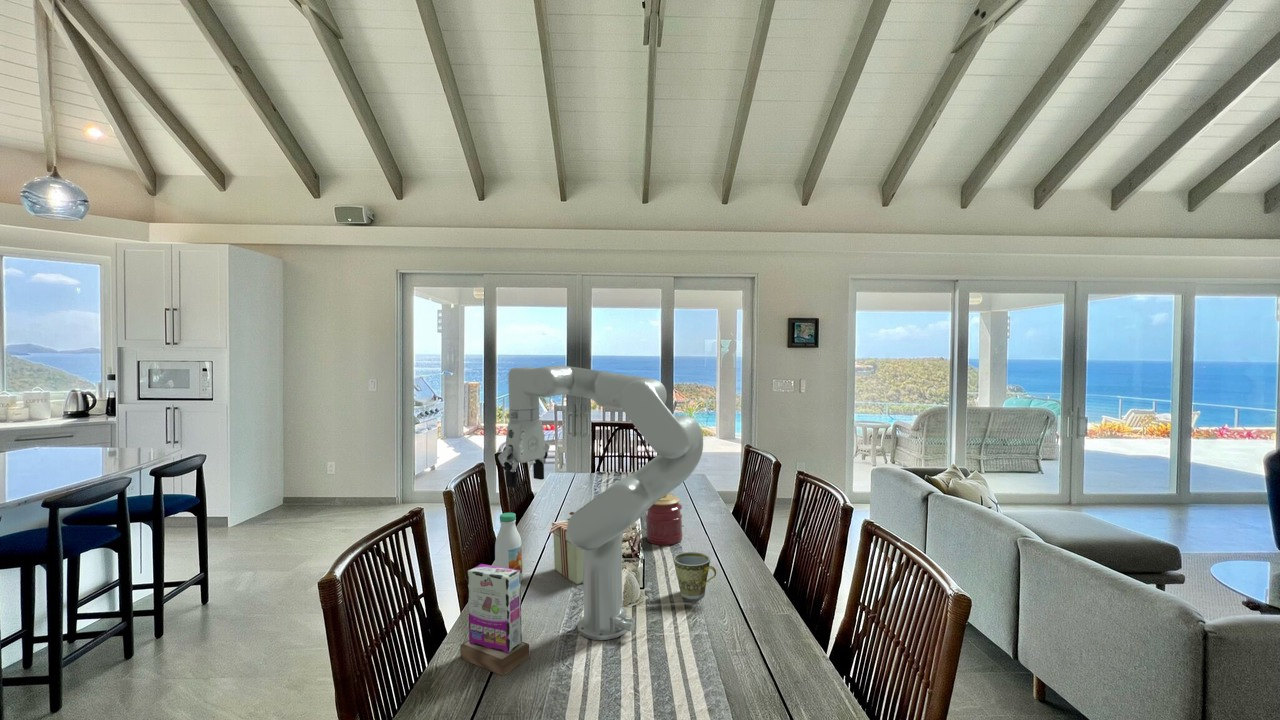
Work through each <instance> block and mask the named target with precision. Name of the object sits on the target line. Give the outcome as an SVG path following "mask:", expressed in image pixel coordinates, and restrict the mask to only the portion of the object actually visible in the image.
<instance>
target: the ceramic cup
mask: <svg viewBox="0 0 1280 720" xmlns="http://www.w3.org/2000/svg"><path fill="white" fill-rule="evenodd" d="M673 564H674V569H675V573H676V575H677V581H678V585H679V590H680V591H679V592H680V595H681V598H684V599H686V600H687V599H688V600H700V599H701V598H704V597H705V595H706V587H707V583H709V582H710V581H711V580H713V579H714V578H715V577H716V575H717V571H716V568H715V567H714V566H713V565H710V564H711V558H710V556H709V555H707V554H705V553H702V552H697V551H686V552H685V551H684V552H680V553H678V554H676V555H674V557H673ZM709 570H712V571H713V573H714V574H713V576H711V577H709V578H708V575H709Z"/></svg>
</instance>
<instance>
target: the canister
mask: <svg viewBox="0 0 1280 720" xmlns="http://www.w3.org/2000/svg"><path fill="white" fill-rule="evenodd" d="M680 500H681V499H680V498H678V497H677V496H675V495H674V494H670V493H668V494H667V495H666V496H664V497H663V498H661V499H660V500H658V501H657V502H656V503H655V504H653V505H652V506H651V507H650V508H649V509H648V510H647V511H646V515H645V519H646V521H645V522H646V523H645V524H646V525H645V526H646V527H645V528H646V529H645V530H646V531H645V536H646V540H647V542H648V543H650V544H653V545H657V546H672V545H675V544H678V543H680V542H682V540H683V526H682V525H683V519H682V518H683V515H682V513H681V512H682V511H681V510H682V508H683V506H682V504H680Z"/></svg>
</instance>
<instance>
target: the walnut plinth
mask: <svg viewBox="0 0 1280 720" xmlns="http://www.w3.org/2000/svg"><path fill="white" fill-rule="evenodd" d="M459 650H460V659H461V660H463V661H466V662H468V663H471V664H473V665H476V666H477V667H480V668H483V669H485V670H487V671H490V672H492V673H494V674H498V675H500V676H502V677H504V675H506V674H507V673H509V672H511V671H512V670H513V669H515V668H516V667H518V666H519V665H521V664H522V663H524V662H525V661H527V660H528V659H529V658H530V644H529V643H527V642H524V641H522V643H521V644H520V645H519V646H518V647H516V648H515V649H514V650H512V651H511V652H510V653H506V652H502V651H498V650H494V649H490V648H485V647H481V646H477V645H473V644H470V643H469V639H468V640H467V641H465V642H463V643H462V644H460V647H459Z"/></svg>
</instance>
